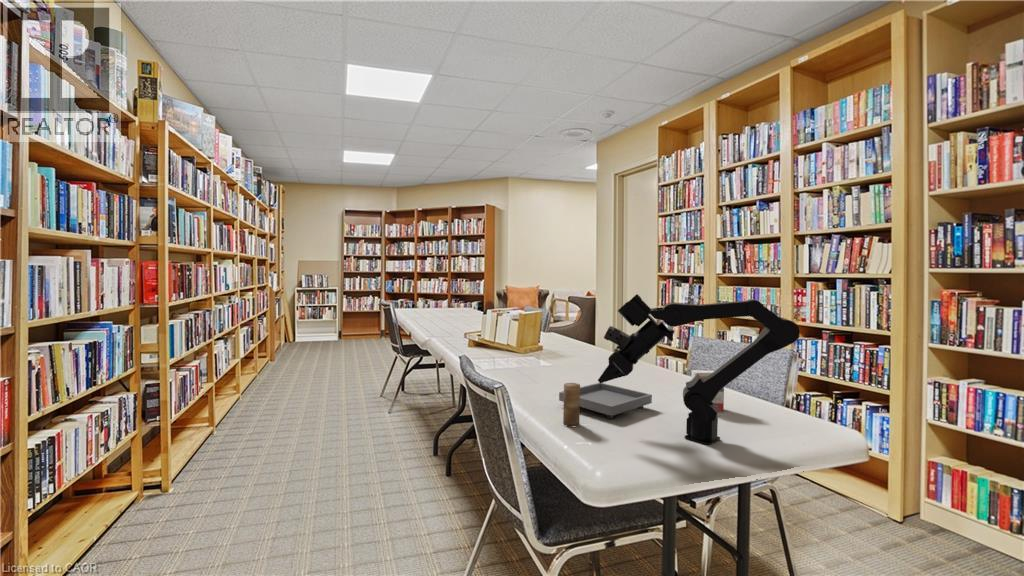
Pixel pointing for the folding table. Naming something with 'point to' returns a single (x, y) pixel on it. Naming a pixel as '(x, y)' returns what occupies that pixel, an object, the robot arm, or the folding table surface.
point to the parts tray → (610, 399)
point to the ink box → (719, 397)
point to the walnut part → (571, 404)
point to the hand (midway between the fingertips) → (601, 377)
